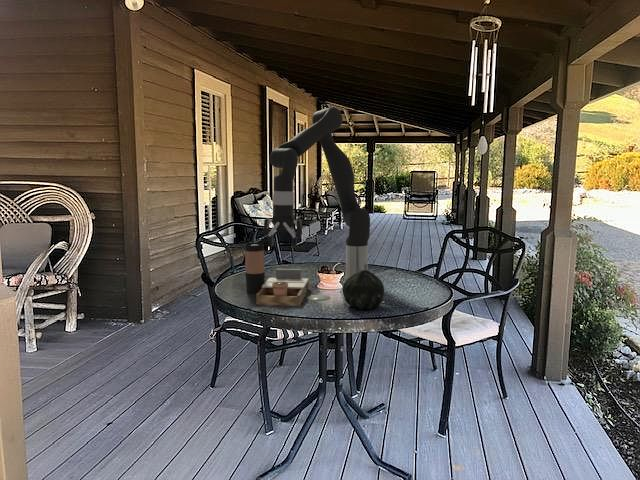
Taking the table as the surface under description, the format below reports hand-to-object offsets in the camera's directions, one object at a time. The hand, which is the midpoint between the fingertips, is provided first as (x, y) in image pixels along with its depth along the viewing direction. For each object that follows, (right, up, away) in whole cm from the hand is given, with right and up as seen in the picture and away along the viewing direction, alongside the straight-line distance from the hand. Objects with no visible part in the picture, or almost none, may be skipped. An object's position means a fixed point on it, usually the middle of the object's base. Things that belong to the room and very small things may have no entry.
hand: (282, 247), depth 188 cm
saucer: (+13, -20, +5) cm, 25 cm away
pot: (-1, -20, 0) cm, 20 cm away
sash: (+1, -15, +11) cm, 18 cm away
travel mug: (-12, -19, +16) cm, 28 cm away
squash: (+30, -22, -4) cm, 37 cm away
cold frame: (0, -20, +7) cm, 21 cm away
